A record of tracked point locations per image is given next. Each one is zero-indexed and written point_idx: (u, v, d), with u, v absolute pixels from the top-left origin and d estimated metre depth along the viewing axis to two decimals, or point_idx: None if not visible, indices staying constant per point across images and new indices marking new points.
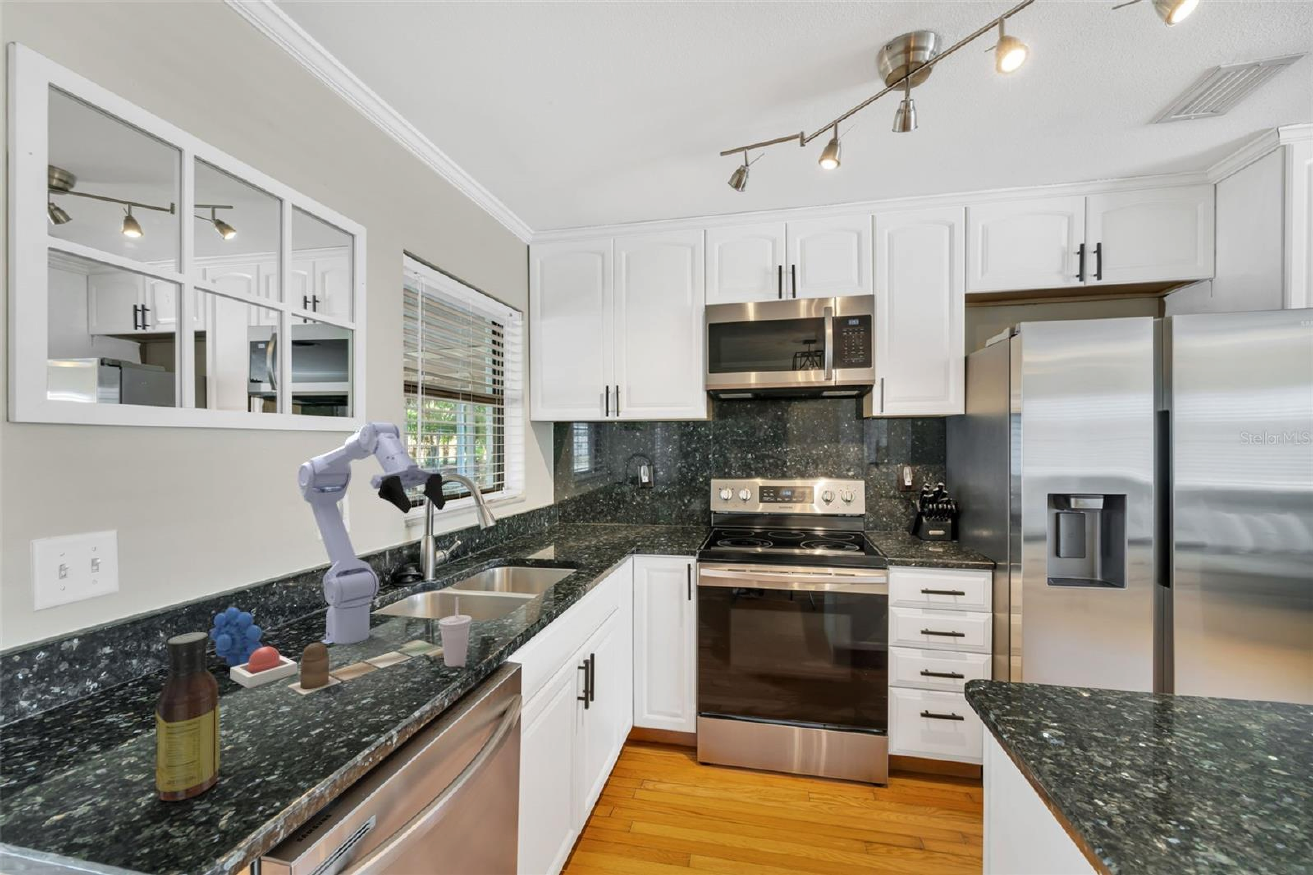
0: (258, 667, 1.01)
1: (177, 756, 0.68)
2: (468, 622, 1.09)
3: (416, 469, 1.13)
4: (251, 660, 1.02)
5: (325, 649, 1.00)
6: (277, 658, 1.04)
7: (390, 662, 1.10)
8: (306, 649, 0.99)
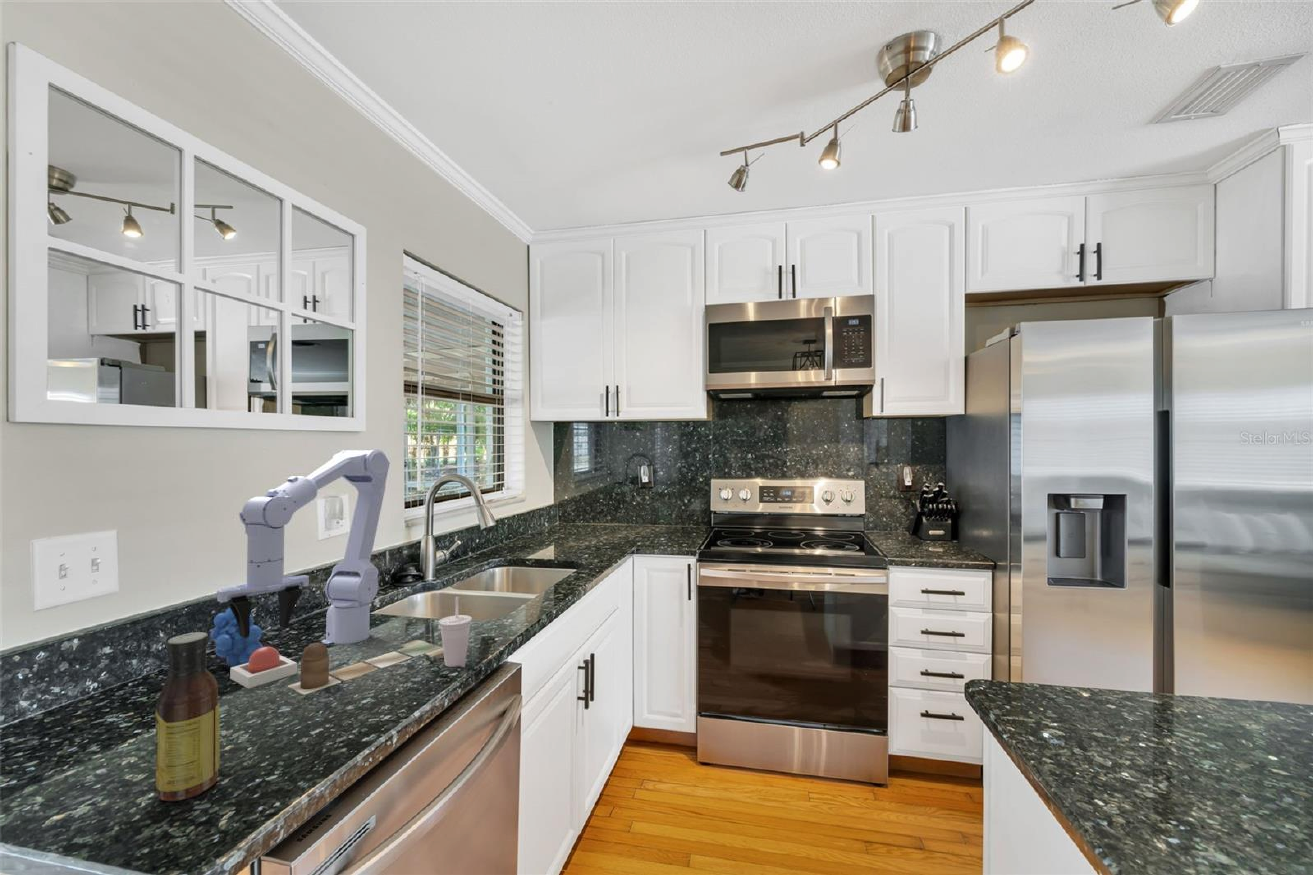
0: (258, 667, 1.01)
1: (177, 756, 0.68)
2: (468, 622, 1.09)
3: None
4: (251, 660, 1.02)
5: (325, 649, 1.00)
6: (277, 658, 1.04)
7: (390, 662, 1.10)
8: (306, 649, 0.99)
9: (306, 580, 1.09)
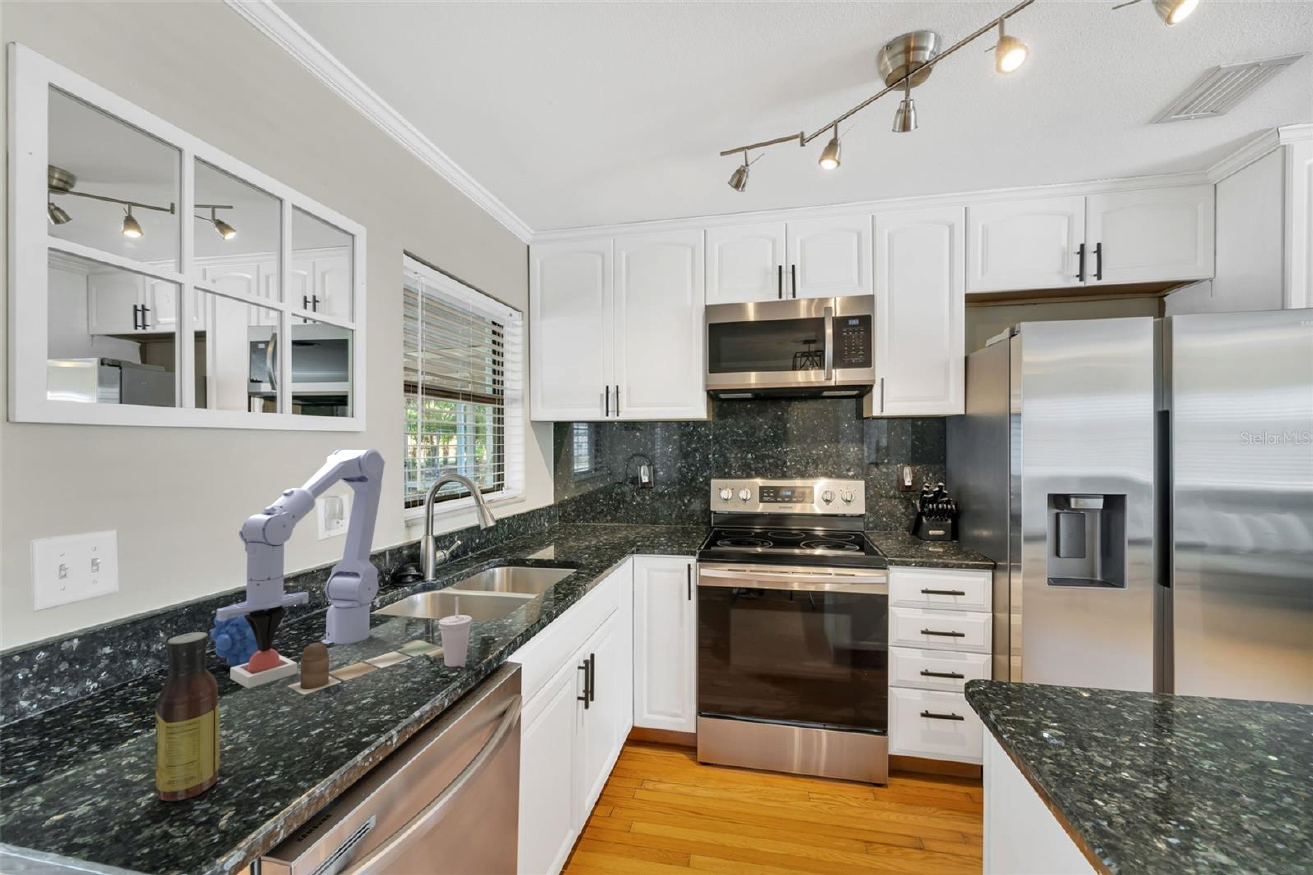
0: (258, 669, 1.01)
1: (177, 756, 0.68)
2: (468, 622, 1.09)
3: None
4: (251, 661, 1.02)
5: (325, 649, 1.00)
6: (277, 660, 1.04)
7: (390, 662, 1.10)
8: (306, 649, 0.99)
9: (306, 597, 1.09)
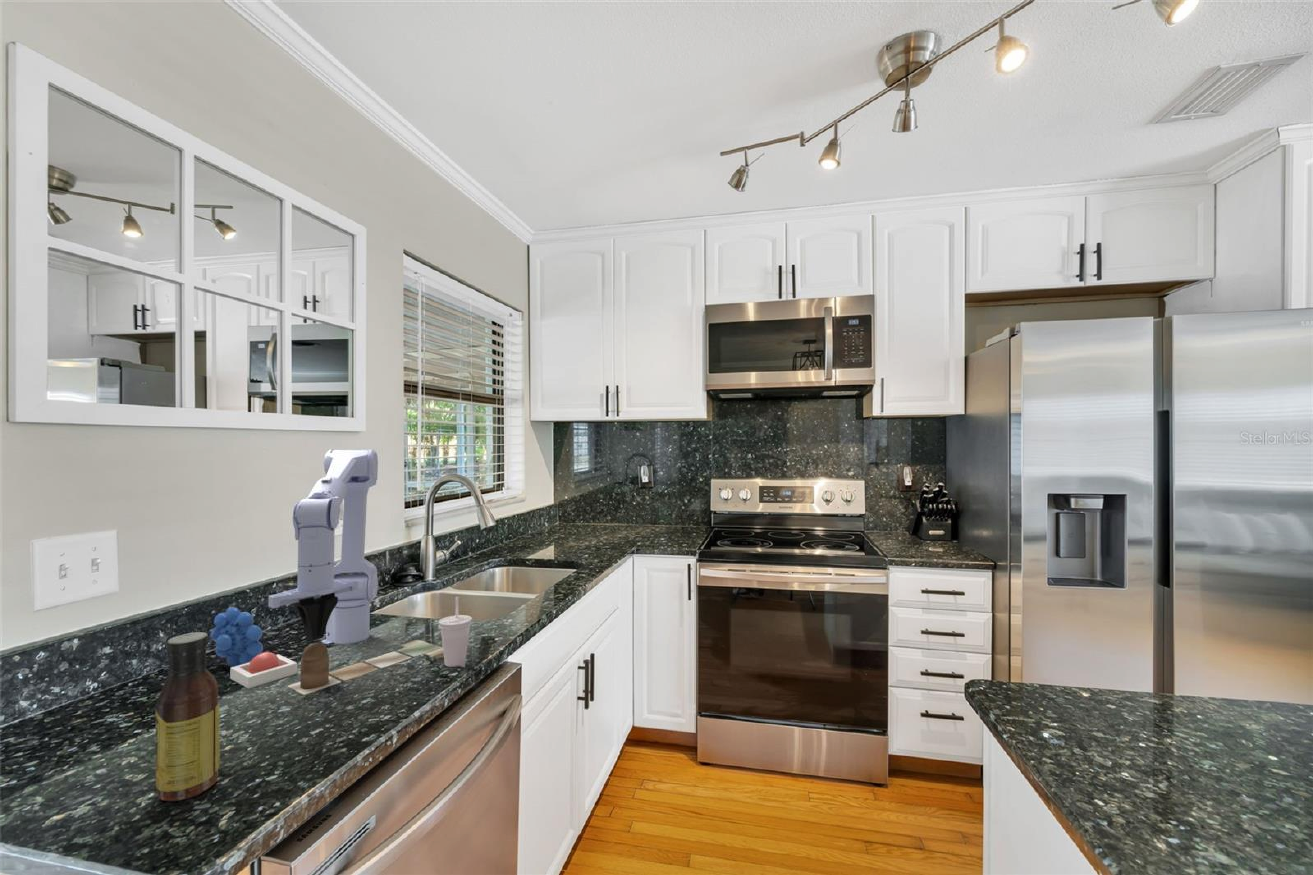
0: None
1: (177, 756, 0.68)
2: (468, 622, 1.09)
3: None
4: (251, 665, 1.02)
5: (325, 649, 1.00)
6: (277, 664, 1.04)
7: (390, 662, 1.10)
8: (306, 649, 0.99)
9: (355, 584, 1.05)
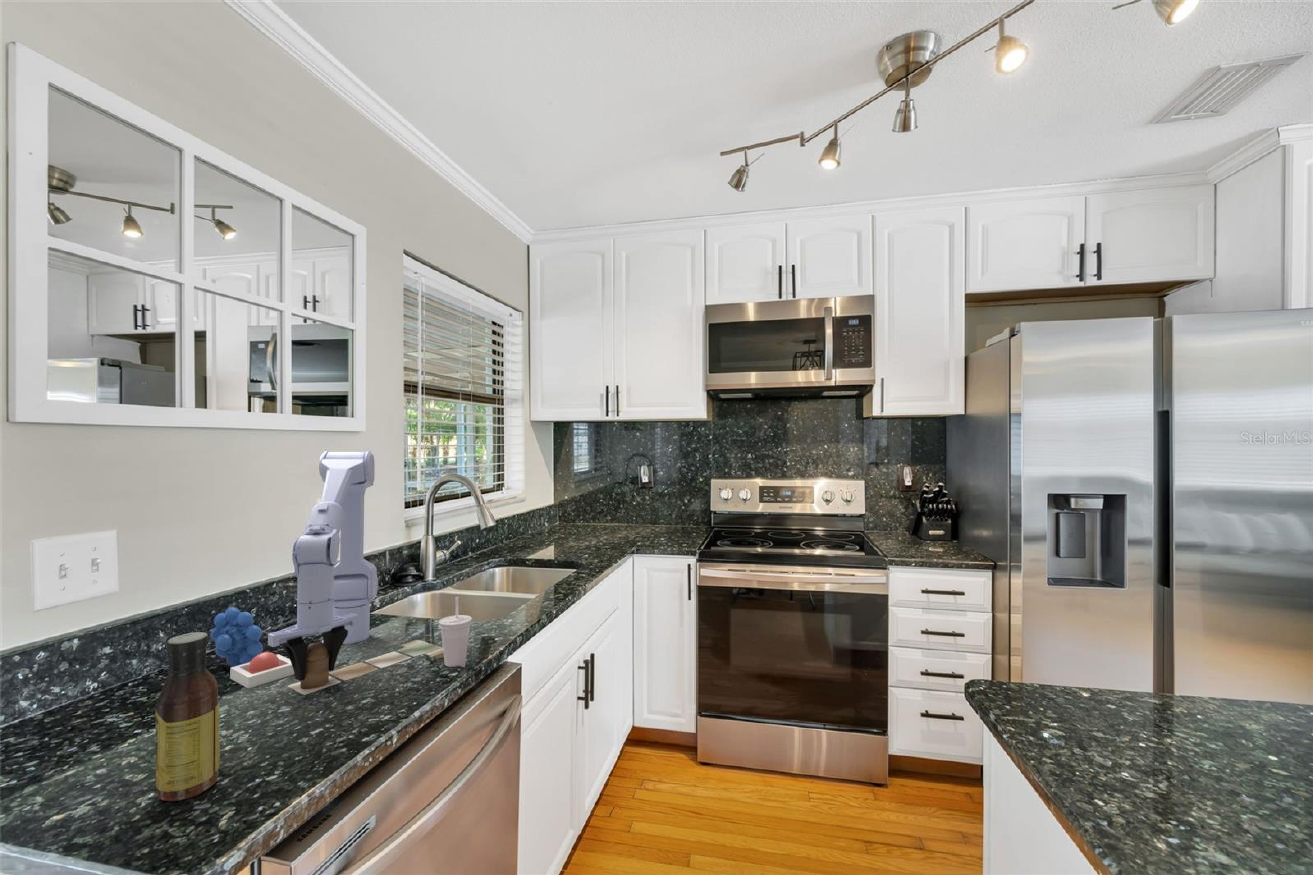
0: None
1: (177, 756, 0.68)
2: (468, 622, 1.09)
3: None
4: (251, 665, 1.02)
5: (325, 649, 1.00)
6: (277, 664, 1.04)
7: (390, 662, 1.10)
8: None
9: (355, 619, 1.05)
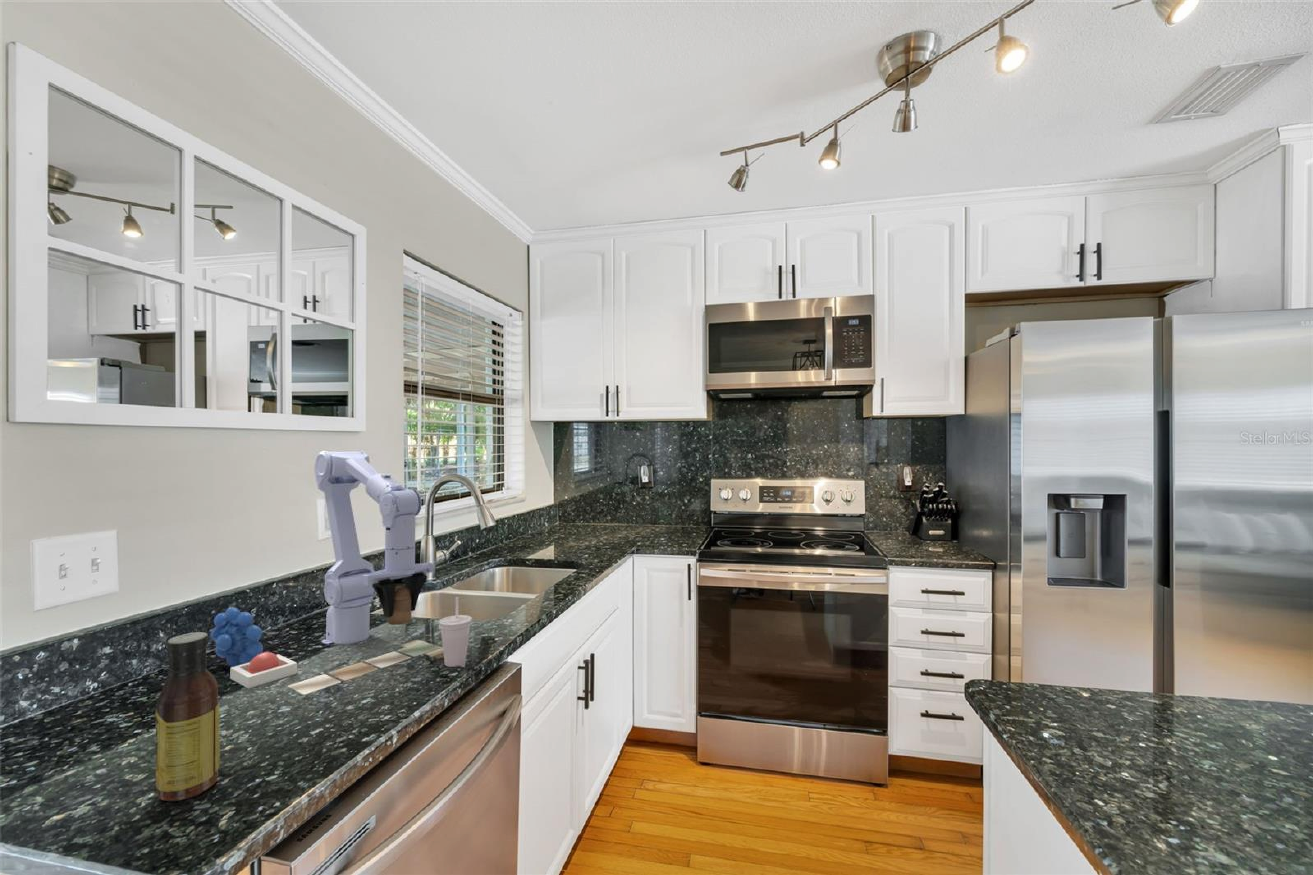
0: None
1: (177, 756, 0.68)
2: (468, 622, 1.09)
3: None
4: (251, 665, 1.02)
5: (408, 591, 1.14)
6: (277, 664, 1.04)
7: (390, 662, 1.10)
8: None
9: (432, 567, 1.19)
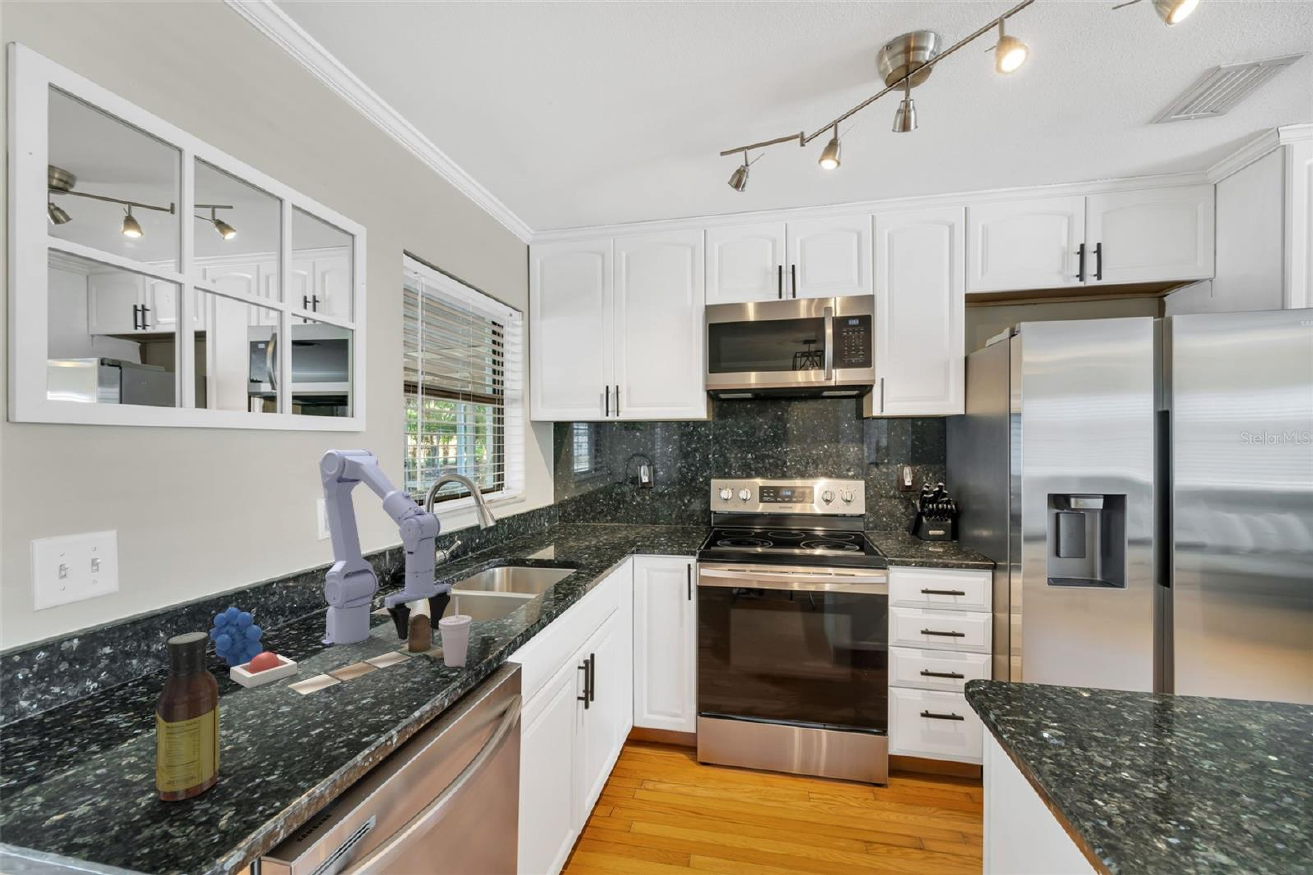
0: None
1: (177, 756, 0.68)
2: (468, 622, 1.09)
3: None
4: (251, 665, 1.02)
5: (428, 619, 1.18)
6: (277, 664, 1.04)
7: (390, 662, 1.10)
8: (413, 619, 1.16)
9: (449, 588, 1.23)
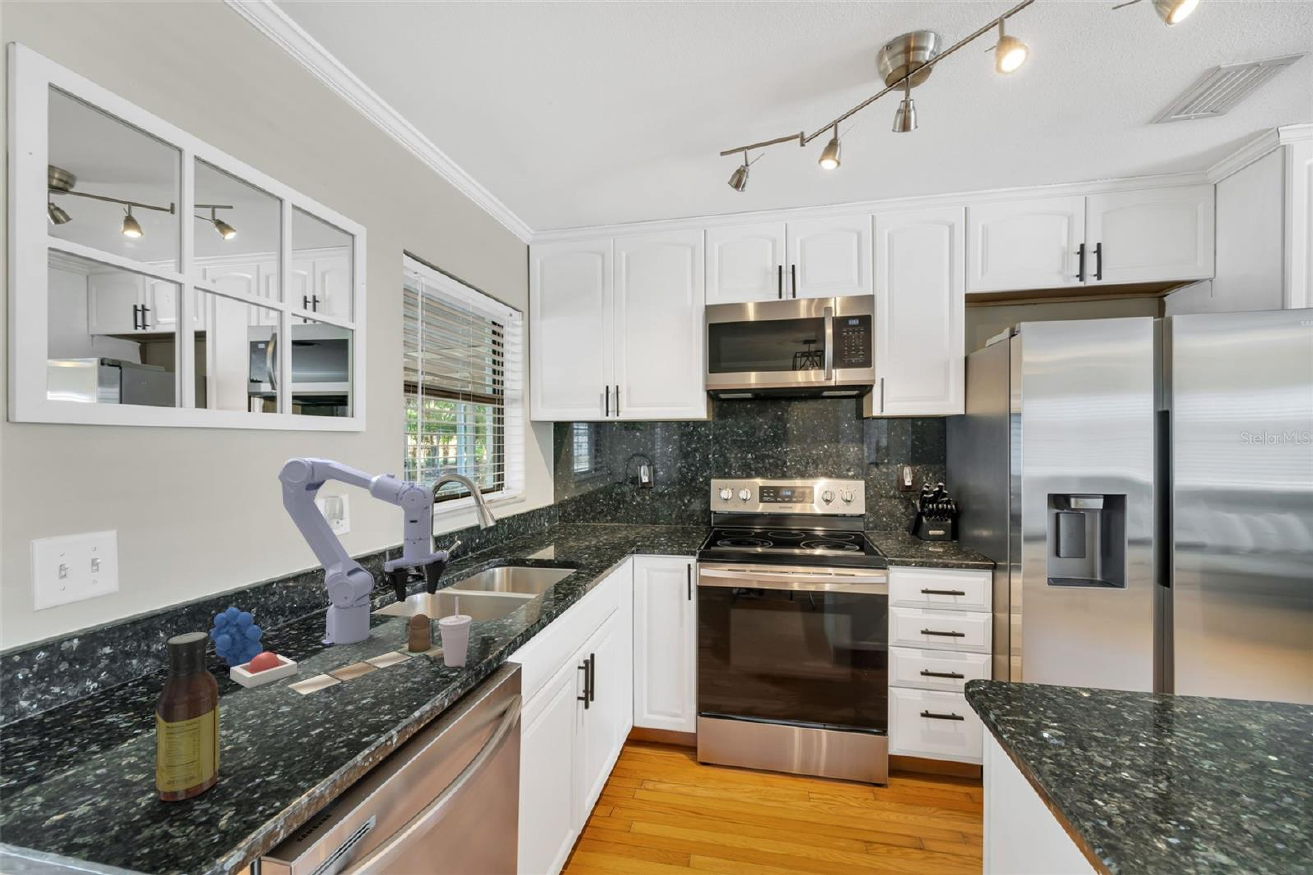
0: None
1: (177, 756, 0.68)
2: (468, 622, 1.09)
3: None
4: (251, 665, 1.02)
5: (428, 619, 1.18)
6: (277, 664, 1.04)
7: (390, 662, 1.10)
8: (413, 619, 1.16)
9: (445, 556, 1.31)
